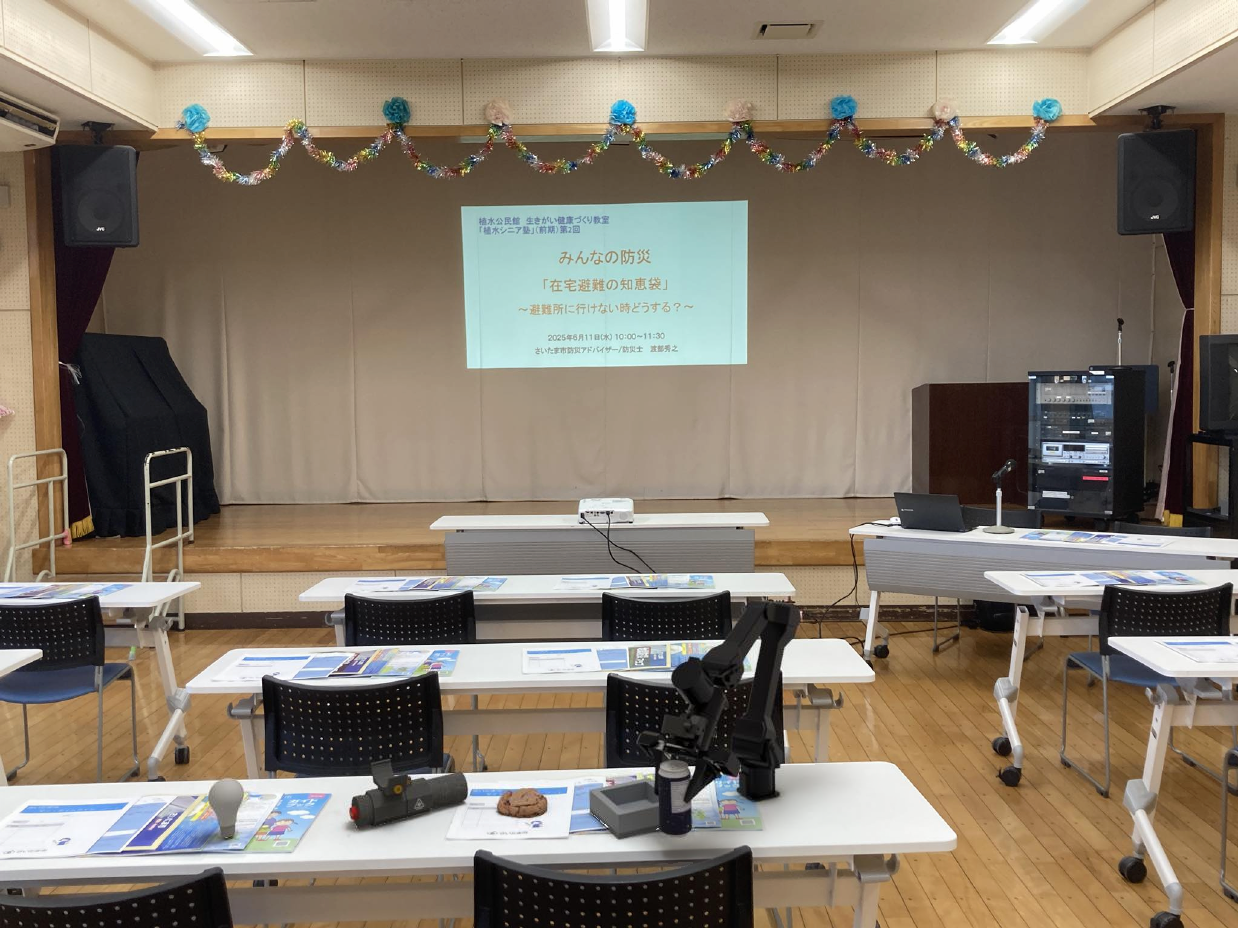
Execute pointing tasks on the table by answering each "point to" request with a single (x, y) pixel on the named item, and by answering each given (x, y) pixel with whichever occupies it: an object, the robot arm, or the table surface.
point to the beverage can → (674, 799)
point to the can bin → (627, 807)
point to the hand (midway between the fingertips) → (670, 798)
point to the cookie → (522, 803)
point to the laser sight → (404, 795)
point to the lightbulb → (226, 803)
